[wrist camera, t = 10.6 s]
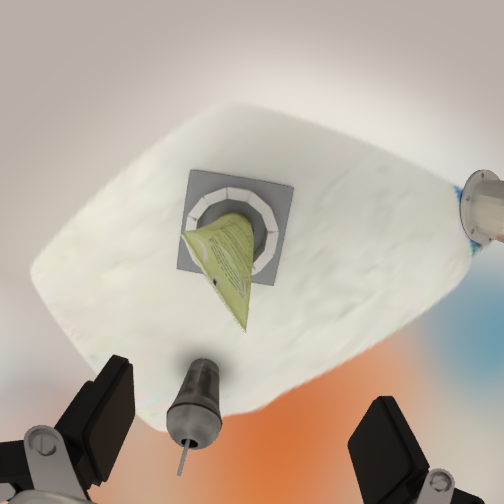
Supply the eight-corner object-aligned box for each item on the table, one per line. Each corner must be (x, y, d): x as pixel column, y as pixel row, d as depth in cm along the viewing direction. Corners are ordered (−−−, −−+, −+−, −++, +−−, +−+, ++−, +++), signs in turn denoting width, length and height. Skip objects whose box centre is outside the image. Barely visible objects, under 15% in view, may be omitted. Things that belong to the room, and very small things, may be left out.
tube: (205, 241, 37) (161, 307, 18) (216, 203, 35) (180, 233, 16) (247, 255, 37) (245, 334, 18) (260, 217, 36) (272, 262, 17)
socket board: (292, 187, 36) (299, 188, 31) (273, 283, 39) (276, 298, 34) (191, 170, 35) (183, 168, 30) (178, 266, 38) (168, 279, 34)
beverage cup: (236, 368, 43) (231, 473, 23) (210, 393, 44) (195, 491, 25) (198, 343, 42) (170, 447, 22) (173, 370, 43) (141, 467, 24)
